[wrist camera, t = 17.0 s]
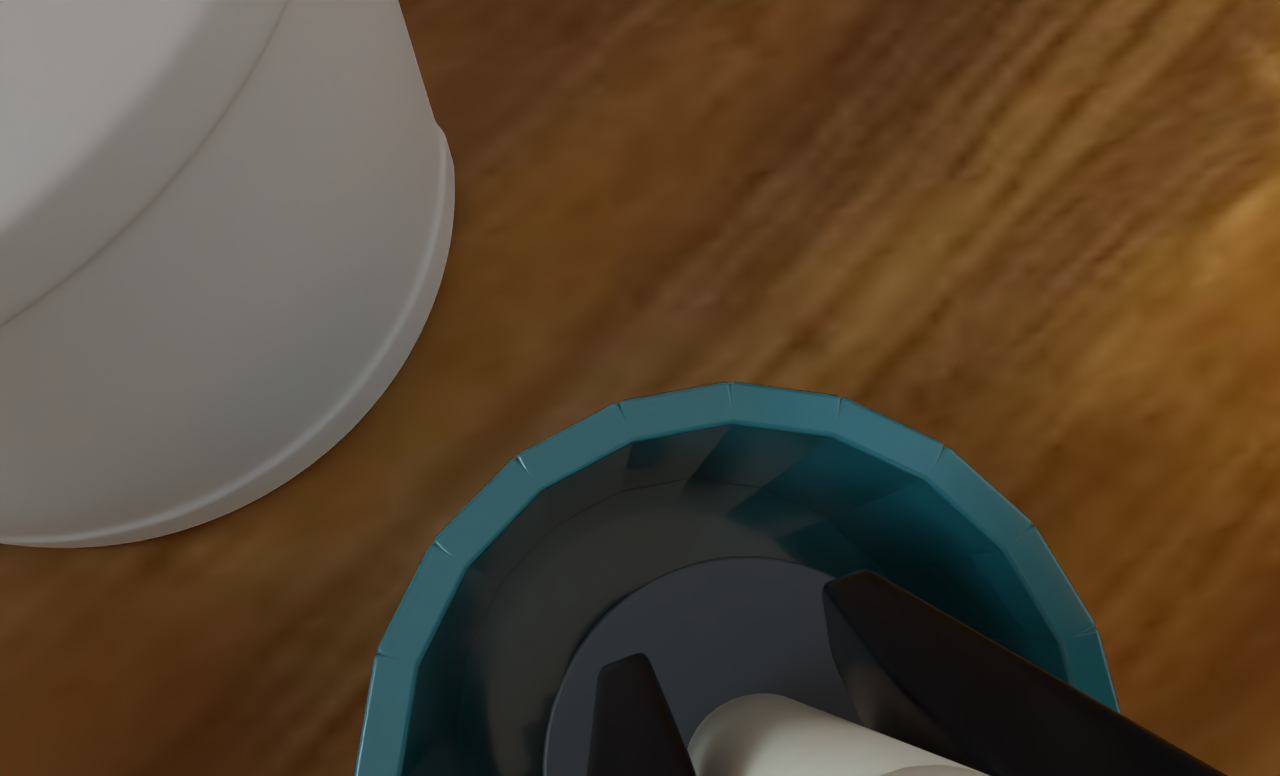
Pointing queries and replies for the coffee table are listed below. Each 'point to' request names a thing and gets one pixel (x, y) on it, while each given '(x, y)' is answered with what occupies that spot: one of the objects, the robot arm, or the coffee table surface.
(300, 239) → the jar
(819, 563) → the tumbler
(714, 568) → the brush
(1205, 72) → the coffee table surface
